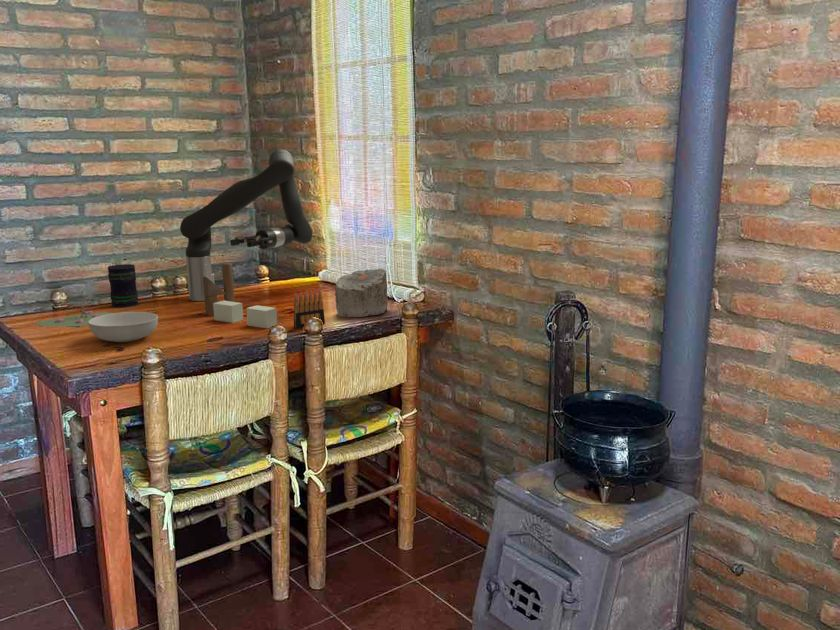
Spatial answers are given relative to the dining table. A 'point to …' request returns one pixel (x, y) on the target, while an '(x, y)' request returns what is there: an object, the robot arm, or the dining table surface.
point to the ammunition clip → (307, 308)
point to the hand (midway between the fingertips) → (239, 243)
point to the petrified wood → (361, 293)
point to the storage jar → (123, 285)
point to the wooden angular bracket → (218, 289)
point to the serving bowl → (123, 326)
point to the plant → (73, 318)
